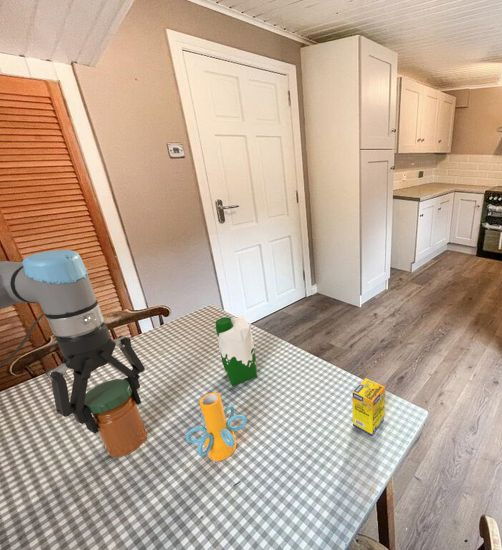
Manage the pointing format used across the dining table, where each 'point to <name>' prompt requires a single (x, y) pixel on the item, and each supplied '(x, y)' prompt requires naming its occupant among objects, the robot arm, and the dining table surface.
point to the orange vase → (216, 428)
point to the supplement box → (368, 406)
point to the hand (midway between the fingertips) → (115, 415)
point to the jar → (121, 428)
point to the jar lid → (107, 395)
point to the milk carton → (236, 349)
